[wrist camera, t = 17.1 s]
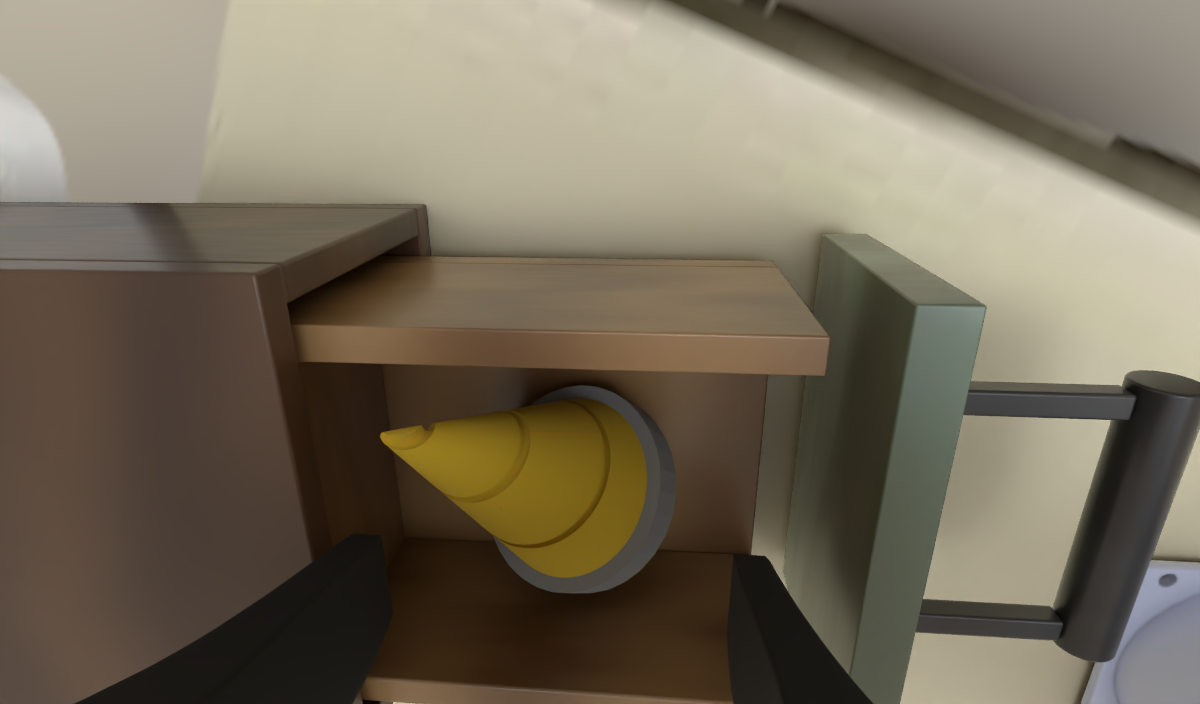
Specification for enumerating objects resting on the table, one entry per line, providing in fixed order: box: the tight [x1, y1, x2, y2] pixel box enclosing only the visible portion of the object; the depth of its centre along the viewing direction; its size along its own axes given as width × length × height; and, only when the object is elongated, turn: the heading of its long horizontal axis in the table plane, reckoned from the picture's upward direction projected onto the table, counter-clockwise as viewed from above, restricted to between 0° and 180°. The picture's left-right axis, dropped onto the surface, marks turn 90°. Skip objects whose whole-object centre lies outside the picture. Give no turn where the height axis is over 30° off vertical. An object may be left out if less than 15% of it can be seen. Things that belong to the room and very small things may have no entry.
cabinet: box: [0, 202, 431, 704], centre depth 18 cm, size 16×13×9 cm
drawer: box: [287, 234, 1200, 704], centre depth 16 cm, size 20×11×7 cm, turn 90°
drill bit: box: [380, 385, 676, 593], centre depth 16 cm, size 5×5×10 cm
